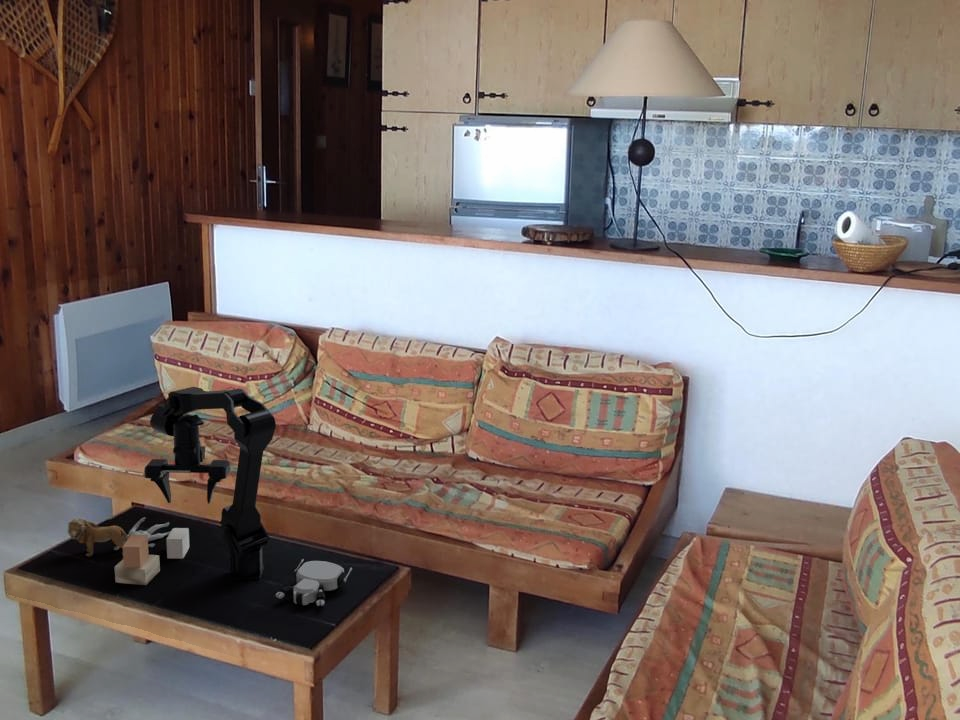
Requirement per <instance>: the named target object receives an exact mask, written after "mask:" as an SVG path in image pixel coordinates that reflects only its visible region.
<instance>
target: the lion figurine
mask: <svg viewBox="0 0 960 720" xmlns="http://www.w3.org/2000/svg"><path fill="white" fill-rule="evenodd" d="M67 524H68V529H67V533H68V536H70V538H71V539H72V540H75V541H78V543H80V544H85V545H86V547H87V548H86V552H87V553H86V554H85V556H86V557H91V556H93V554H94V544H95V543H105V542H108V541H109V540H111V541H112V542H113V543H114V544H115V545H116V546H114V547H113V550H114V551H119V550H120V548H121V549H122V550H123V545H124V544H125V543H123V541H122V539H121V538H122V536H124V538H125V540H126V541H127V540H128V538H127V537H128V536H127V535H128V534H127V533H126V531H124V529H123V528H122V527H121V526H118V525H111V526H99V525H97V524H95V523H94V522H91V521H89V520H88V521H87V520H86V519H82V518H73V519H72V520H70V522H68V523H67ZM121 555H122V556H123V551H122V552H121Z"/></svg>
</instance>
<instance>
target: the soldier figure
mask: <svg viewBox="0 0 960 720" xmlns="http://www.w3.org/2000/svg"><path fill="white" fill-rule="evenodd" d="M146 519H147V518H146V517H142V518H140V519H139V520H138V521H137V522H136V523H135V524H134V525H133V527H132V528H131V529H130V530H129V531H128V534H126V535H127V538H129V537H130V536H131V535H148V542H153V541H155V540H158V539H163V538H164V537H165V536H169V534H170V532H171V531H172V530H171V531H168V532H164V533H159V532H158V533H155V534H153V533H154V532H156V531H157V530H159V529H161V528H166V527H169V526H170V522H169V521H168V522H166V523H164V524H163V523H162V524H155V525H153V526H151V527H149V528H148V529H147V530H142V529H141V530H137V529H138V528H139V526H140V525H141V523H142V522H144V520H146ZM121 539H122V541H123V543H124V544H125V543H126V540H125V538H124V536H123V535H122V538H121ZM153 546H155V543H148V548H153Z"/></svg>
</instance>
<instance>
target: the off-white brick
mask: <svg viewBox="0 0 960 720" xmlns="http://www.w3.org/2000/svg"><path fill="white" fill-rule="evenodd" d="M169 532H170V531H169ZM165 540H166V555H167V556H166V558H167V559H181V560H182V559H184V558H185V556H186V554H187V553H188V551H189V548H190V529H189V527H173V528H172V529H171V532H170V534H169V535H167V537H166V539H165Z"/></svg>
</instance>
